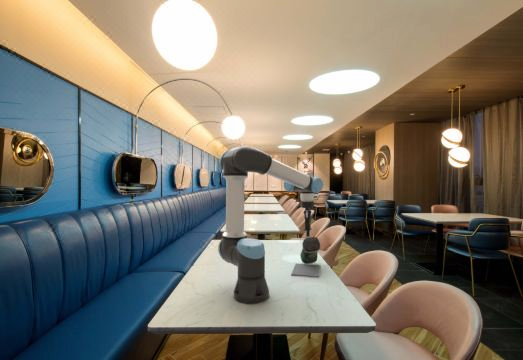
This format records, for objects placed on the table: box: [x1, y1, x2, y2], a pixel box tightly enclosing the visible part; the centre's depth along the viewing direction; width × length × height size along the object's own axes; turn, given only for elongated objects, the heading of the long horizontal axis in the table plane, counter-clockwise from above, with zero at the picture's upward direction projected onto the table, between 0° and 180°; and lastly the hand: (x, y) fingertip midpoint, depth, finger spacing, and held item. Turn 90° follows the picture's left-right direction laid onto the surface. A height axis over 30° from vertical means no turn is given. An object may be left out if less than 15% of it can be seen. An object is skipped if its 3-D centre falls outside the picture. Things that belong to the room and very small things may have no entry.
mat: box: [290, 263, 321, 278], centre depth 145 cm, size 18×14×1 cm
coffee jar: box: [299, 236, 321, 264], centre depth 151 cm, size 10×8×19 cm
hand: (308, 241), depth 154 cm, fingers closed
